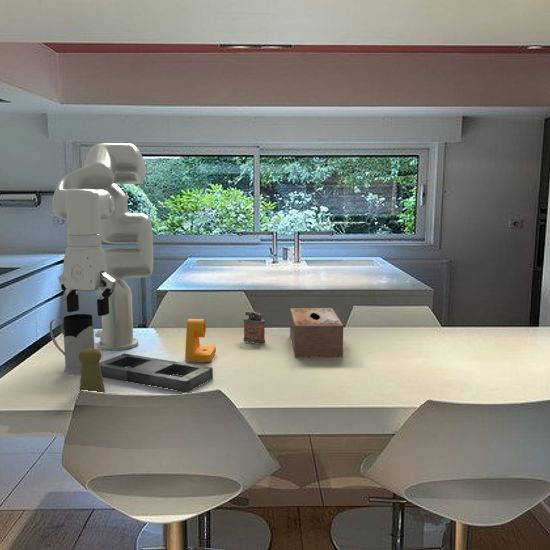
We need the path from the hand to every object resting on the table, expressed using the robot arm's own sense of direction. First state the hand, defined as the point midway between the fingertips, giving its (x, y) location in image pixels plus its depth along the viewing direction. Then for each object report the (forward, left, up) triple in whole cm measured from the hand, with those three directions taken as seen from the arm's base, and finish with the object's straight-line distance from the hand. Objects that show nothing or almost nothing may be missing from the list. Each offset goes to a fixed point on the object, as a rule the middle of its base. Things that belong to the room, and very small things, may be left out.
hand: (88, 313), depth 132 cm
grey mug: (-19, +12, -20) cm, 30 cm away
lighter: (+13, +60, -20) cm, 65 cm away
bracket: (+8, +36, -20) cm, 42 cm away
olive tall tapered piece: (0, 0, -20) cm, 20 cm away
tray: (+6, +16, -20) cm, 26 cm away
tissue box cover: (+33, +64, -21) cm, 75 cm away
